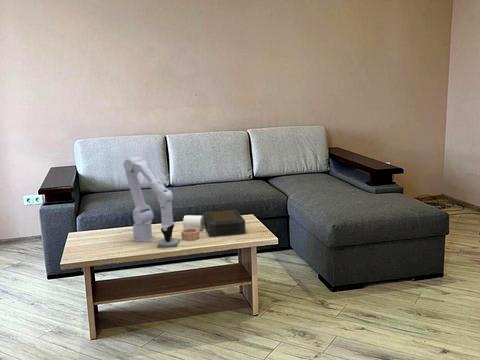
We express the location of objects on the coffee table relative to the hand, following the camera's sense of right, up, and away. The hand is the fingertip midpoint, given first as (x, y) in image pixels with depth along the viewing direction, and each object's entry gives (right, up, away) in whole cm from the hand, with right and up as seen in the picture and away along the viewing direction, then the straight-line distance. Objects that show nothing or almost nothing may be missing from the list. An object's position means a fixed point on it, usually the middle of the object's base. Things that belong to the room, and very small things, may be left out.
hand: (168, 240), depth 257 cm
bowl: (+10, 0, +9) cm, 14 cm away
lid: (0, -1, 0) cm, 1 cm away
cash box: (+28, +3, +22) cm, 36 cm away
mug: (+11, +3, +25) cm, 28 cm away
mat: (0, -2, 0) cm, 2 cm away
